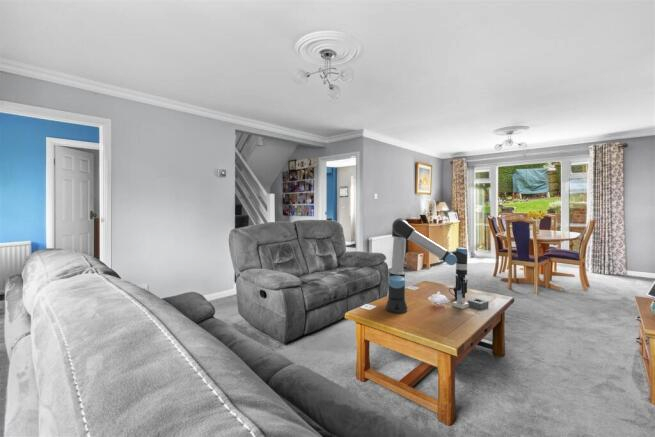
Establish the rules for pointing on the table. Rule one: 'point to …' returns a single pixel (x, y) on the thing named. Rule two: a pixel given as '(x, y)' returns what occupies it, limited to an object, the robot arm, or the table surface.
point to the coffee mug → (454, 292)
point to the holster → (460, 305)
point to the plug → (459, 298)
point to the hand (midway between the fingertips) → (460, 300)
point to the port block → (478, 303)
